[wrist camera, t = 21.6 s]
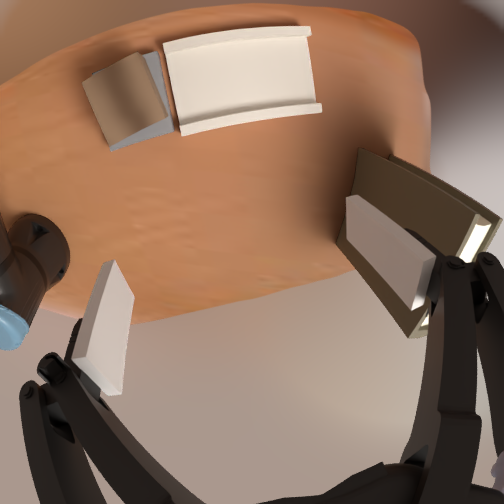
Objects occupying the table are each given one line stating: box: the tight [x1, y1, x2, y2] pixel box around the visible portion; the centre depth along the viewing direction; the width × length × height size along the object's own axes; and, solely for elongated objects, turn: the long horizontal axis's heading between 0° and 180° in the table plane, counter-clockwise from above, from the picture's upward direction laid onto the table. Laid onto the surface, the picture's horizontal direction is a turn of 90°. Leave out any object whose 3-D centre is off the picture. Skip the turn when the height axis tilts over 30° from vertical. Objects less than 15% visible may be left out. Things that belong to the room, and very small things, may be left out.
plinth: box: [92, 51, 175, 151], centre depth 34 cm, size 10×13×3 cm
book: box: [336, 148, 503, 338], centre depth 42 cm, size 22×9×28 cm, turn 174°
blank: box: [82, 51, 169, 147], centre depth 30 cm, size 8×10×6 cm
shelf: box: [163, 26, 322, 136], centre depth 35 cm, size 22×15×3 cm
